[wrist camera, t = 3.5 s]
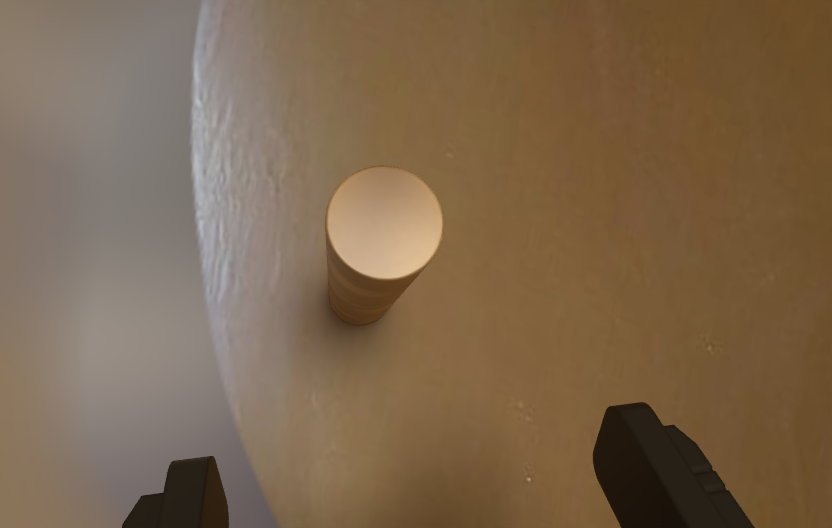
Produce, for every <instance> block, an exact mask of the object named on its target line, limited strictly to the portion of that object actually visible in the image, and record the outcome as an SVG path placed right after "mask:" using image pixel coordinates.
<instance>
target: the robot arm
mask: <svg viewBox="0 0 832 528" xmlns="http://www.w3.org/2000/svg"><path fill="white" fill-rule="evenodd" d="M593 464H594V469H595V473H596V476H597V479H598V481H599V483H600V485H601V487H602V489H603V491H604V493H605V496H606V498H607V500H608V502H609V504H610V506H611V508H612V510H613V512H614V514H615V516H616V518H617V520H618V522H619V524H620V526H621V528H754V526H753V525H752V523H751V522H750V520H749V519H748V518H747V516H746V515H745V513H744V512H743V510H742V509H741V507H740V506H739V505H738V503H737V502H736V500H735V499H734V497H733V496H732V494H731V493H730V492H729V490H726V488H725V484H724V483H723V481H722V480H721V479H720V477H719V476H718V474H717V473H716V471H713V470H712V466H711V464H710V463H709V461H708V460H707V458H706V457H705V455H704V454H703V453H702V451H701V450H700V448H699V447H698V445H697V444H696V443H695V442H694V441H693V440H691V439H690V438H689V437H688V436H686V435H685V434H684V433H683V432H682V431H680V430H679V429H678V428H677V427H676V426H674V425H669V426H663V425H662V423H661V422H660V420H659V419H658V417H657V415H656V414H655V412H654V411H653V410H652V408H651V407H650V406H649V405H648V404H646V403H644V402H640V403H632V404H624V405H617V406H610V407H608V408H607V410H606V412H605V415H604V418H603V421H602V424H601V428H600V431H599V434H598V437H597V441H596V444H595V447H594V451H593ZM122 528H229V516H228V505H227V500H226V496H225V493H224V489H223V486H222V482H221V479H220V475H219V472H218V468H217V464H216V461H215V458H214V457H213V456H209V457H201V458H193V459H185V460H178V461H172V462H171V464H170V466H169V469H168V472H167V478H166V482H165V487H164V492H163V493H159V494H151V495H144V496H141V498H140V499H139V500H138V502H137V503H136V505H135V507H134V508H133V510H132V511H131V512H130V514H129V515H128V517H127V518H126V520H125V521H124V523H123V525H122Z"/></svg>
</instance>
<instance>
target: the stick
mask: <svg viewBox="0 0 832 528" xmlns="http://www.w3.org/2000/svg"><path fill="white" fill-rule="evenodd" d="M443 231H444V219H443V212H442V209H441V206H440V203H439V201H438V199H437V197H436V195H435V194H434V192H433V191H432V189H431V188H430V187H429V186H428V185H427V184H426V183H425V182H424V181H423V180H422V179H420V178H419V177H418V176H416V175H415V174H413V173H411V172H409V171H407V170H404V169H401V168H398V167H392V166H373V167H368V168H365V169H362V170H359V171H357V172H355V173H353V174H352V175H350V176H349V177H347V178H346V179H345V180H344V181H343V182H342V183H341V184H340V185H339V186H338V187H337V188H336V190H335V191H334V193H333V194H332V196H331V198H330V200H329V203H328V206H327V209H326V215H325V232H326V250H327V267H328V284H329V299H330V303H331V306H332V308H333V310H334V312H335V313H336V314H337V315H338V316H339V317H340V318H341V319H342V320H344V321H346V322H348V323H350V324H354V325H366V324H370V323H373V322H375V321H376V320H378V319H379V318H381V317H382V316H383V315H384V314H385V312H386V311H387V310H388V309H389V308H390V307H391V306H392V304H393V303H394V302H395V301H396V300H397V299H398V298H399V297H400V295H401V294H402V293H403V292H404V291H405V290H406V289H407V287H408V286H409V285H410V284H411V283H412V282H413V281H414V280H415V278H416V277H417V276H418V275H419V274H420V273H421V272H422V270H423V269H424V268H425V267H426V266H427V265H428V264H429V263H430V261H431V260H432V259H433V257H434V256H435V254H436V253H437V251H438V249H439V247H440V244H441V241H442V237H443Z"/></svg>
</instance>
